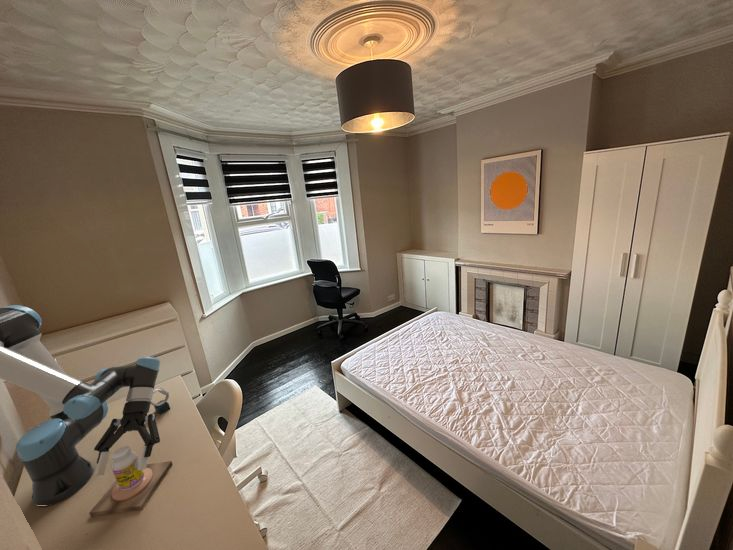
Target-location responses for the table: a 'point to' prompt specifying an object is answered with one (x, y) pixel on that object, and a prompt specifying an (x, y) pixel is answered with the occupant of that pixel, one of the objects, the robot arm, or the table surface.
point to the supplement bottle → (126, 468)
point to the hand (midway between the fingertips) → (120, 472)
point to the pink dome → (124, 495)
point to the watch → (161, 402)
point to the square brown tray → (135, 503)
